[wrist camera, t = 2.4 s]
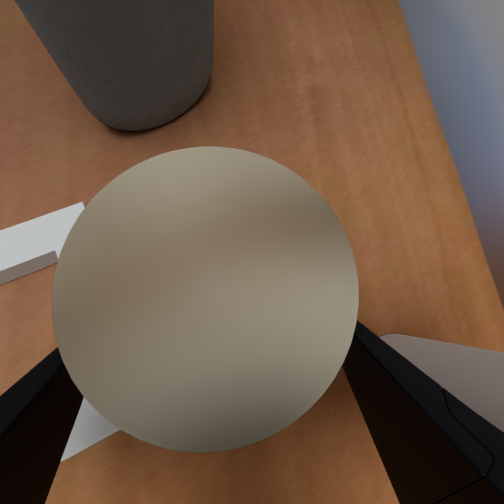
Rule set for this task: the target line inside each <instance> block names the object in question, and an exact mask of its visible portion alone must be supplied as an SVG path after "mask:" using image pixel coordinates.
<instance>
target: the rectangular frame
mask: <svg viewBox="0 0 504 504" xmlns="http://www.w3.org/2000/svg"><path fill="white" fill-rule="evenodd" d="M86 206H87V205H86V204H85V203H83V202H81V203H78V204H75V205H72V206H69V207H66V208H63V209H61V210H58V211H55V212H52V213H49V214H46V215H43V216H41V217H38V218H35V219H32V220H29V221H26V222H23V223H21V224H18V225H15V226H12V227H9V228H6V229H4V230H1V231H0V285H1V284H4V283H6V282H9V281H11V280H14V279H16V278H19V277H22V276H24V275H27V274H29V273H32V272H34V271H37V270H40V269H42V268H45V267H47V266H50V265H52V264H55V263H57V262H58V259H59V255H60V252H61V250H62V247H63V245H64V243H65V240H66V238H67V236H68V233H69V232H70V230H71V228H72V227H73V225H74V223H75V222H76V220H77V218H78V216H79V215H80V214H81V212H82V211H83V210H84V209H85V207H86ZM119 430H120V429H119V428H117V427H116V426H115V425H113V424H112V423H111V422H109V421H108V420H107V419H105V418H104V417H103V416H101V415H100V414H99V413H98V412H97V410H96V409H95V408H94V407H93V406H92V405H91V404H90V403H89V402H88V401H87V400H86V399H85V398H83V401H82V404H81V407H80V410H79V413H78V415H77V418H76V421H75V424H74V426H73V429H72V432H71V434H70V437H69V440H68V442H67V445H66V448H65V450H64V453H63V456H62V459H61V461H60V462H62V461H64V460H66V459H68V458H69V457H71V456H73V455H75V454H77V453H79V452H80V451H82V450H84V449H86V448H88V447H90V446H91V445H93V444H95V443H97V442H99V441H100V440H102V439H104V438H106V437H108V436H110V435H111V434H113V433H115V432H117V431H119Z"/></svg>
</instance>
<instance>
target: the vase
mask: <svg viewBox="0 0 504 504" xmlns="http://www.w3.org/2000/svg"><path fill="white" fill-rule="evenodd" d="M15 2H16V3H17V5H18V6H19V8H20V9H21V11H22V12H23V14H24V15H25V17H26V19H27V20H28V22H29V23H30V25H31V26H32V28H33V29H34V31H35V32H36V34H37V35H38V37H39V38H40V40H41V41H42V43H43V44H44V46H45V47H46V49H47V50H48V52H49V53H50V55H51V56H52V58H53V60H54V61H55V63H56V64H57V66H58V67H59V69H60V70H61V71H62V73H63V74H64V76H65V77H66V79H67V80H68V82H69V83H70V85H71V86H72V88H73V89H74V91H75V92H76V94H77V95H78V96H79V98H80V99H81V101H82V102H83V104H84V105H85V106H86V108H87V109H88V110H89V111H90V112H91V113H92V114H93V115H94V116H95V117H96V118H97V119H98V120H100V121H101V122H103V123H104V124H106V125H108V126H110V127H113V128H117V129H121V130H129V131H137V130H145V129H150V128H154V127H157V126H160V125H163V124H165V123H167V122H169V121H171V120H173V119H175V118H176V117H178V116H179V115H181V114H182V113H184V112H185V111H186V110H187V109H188V108H190V107H191V106H192V105H193V104H194V103H195V102H196V101H197V99H198V98H199V97H200V95H201V94H202V92H203V91H204V89H205V87H206V85H207V83H208V80H209V77H210V74H211V70H212V63H213V21H214V0H15Z"/></svg>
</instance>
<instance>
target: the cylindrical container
mask: <svg viewBox="0 0 504 504" xmlns="http://www.w3.org/2000/svg"><path fill="white" fill-rule="evenodd" d="M379 338H381V339H382V340H383V341H384V342H386V343H387V344H388V345H390V346H391V347H392V348H393V349H395V350H396V351H397V352H398V353H400V354H401V355H402V356H404V357H405V358H406V359H407V360H409V361H410V362H411V363H413V364H414V365H415V366H416V367H418V368H419V369H420V370H421V371H423V372H424V373H425V374H427V375H428V376H429V377H430V378H432V379H433V380H434V381H436V382H437V383H438V384H439V385H441V388H442V387H443V388H445V389H446V390H447V391H448V392H450V393H451V394H452V395H454V396H455V397H456V398H457V399H459V400H460V401H461V402H463V403H464V404H465V405H467V406H468V407H469V408H471V409H472V410H473V411H475V412H476V413H477V414H479V415H480V416H482V417H483V418H484V419H486V420H487V421H489V422H490V423H491V424H493V425H494V426H496V427H497V428H498V429H500V430H501V431H503V432H504V352H498V351H493V350H487V349H481V348H476V347H470V346H465V345H459V344H453V343H448V342H442V341H436V340H431V339H425V338H419V337H414V336H408V335H402V334H387V335H384V336H381V337H379Z"/></svg>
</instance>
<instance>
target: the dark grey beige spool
mask: <svg viewBox="0 0 504 504" xmlns="http://www.w3.org/2000/svg"><path fill="white" fill-rule="evenodd" d="M358 305H359V286H358V277H357V269H356V265H355V260H354V256H353V252H352V249H351V246H350V244H349V241H348V238H347V236H346V233H345V231H344V229H343V228H342V226H341V224H340V222H339V220H338V218H337V217H336V215H335V214H334V212H333V211H332V209H331V208H330V206H329V205H328V204H327V202H326V201H325V200H324V199H323V198H322V197H321V195H320V194H319V193H318V192H317V191H316V190H315V189H314V188H313V187H312V186H311V185H309V184H308V183H307V182H306V181H305V180H304V179H303V178H301V177H300V176H298V175H297V174H296V173H294V172H293V171H291V170H290V169H288V168H286V167H285V166H283V165H281V164H279V163H277V162H276V161H273V160H271V159H269V158H266V157H264V156H261V155H259V154H255V153H252V152H248V151H245V150H240V149H234V148H228V147H212V146H205V147H191V148H185V149H179V150H174V151H170V152H167V153H164V154H160V155H157V156H154V157H152V158H150V159H147V160H145V161H143V162H141V163H138V164H136V165H135V166H133V167H131V168H130V169H128V170H126V171H125V172H123V173H121V174H120V175H119V176H117V177H116V178H115V179H114V180H112V181H111V182H110V183H108V184H107V185H106V186H105V187H104V188H103V189H102V190H101V191H100V192H99V193H98V194H97V195H96V196H95V197H94V198H93V199H92V200H91V201H90V202H89V203H88V205H87V206H86V207H85V209H84V210H83V211H82V212H81V214H80V215H79V216H78V218H77V220H76V222H75V223H74V225H73V227H72V228H71V230H70V232H69V233H68V236H67V238H66V240H65V243H64V245H63V247H62V250H61V252H60V255H59V259H58V263H57V266H56V270H55V274H54V282H53V289H52V319H53V326H54V332H55V338H56V342H57V345H58V348H59V351H60V354H61V357H62V360H63V362H64V364H65V366H66V369H67V371H68V373H69V375H70V377H71V379H72V381H73V382H74V383H75V385H76V386H77V388H78V389H79V391H80V392H81V393H82V395H83V396H84V398H85V399H86V400H87V401H88V402H89V403H90V404H91V405H92V406H93V407H94V408H95V409H96V410H97V412H98V413H99V414H100V415H101V416H103V417H104V418H105V419H107V420H108V421H109V422H111V423H112V424H113V425H115V426H116V427H117V428H119V429H120V430H122V431H124V432H126V433H127V434H129V435H131V436H133V437H135V438H137V439H139V440H141V441H144V442H147V443H149V444H152V445H155V446H158V447H161V448H166V449H171V450H176V451H181V452H199V453H209V452H218V451H227V450H232V449H236V448H240V447H244V446H247V445H251V444H254V443H256V442H258V441H261V440H263V439H265V438H268V437H270V436H272V435H274V434H276V433H277V432H279V431H281V430H282V429H284V428H286V427H287V426H289V425H291V424H292V423H293V422H294V421H296V420H297V419H298V418H299V417H301V416H302V415H303V414H304V413H306V412H307V411H308V410H309V409H310V408H311V407H312V406H313V405H314V404H315V403H316V402H317V401H318V400H319V398H320V397H321V396H322V395H323V394H324V392H325V391H326V390H327V388H328V387H329V386H330V384H331V383H332V382H333V380H334V379H335V377H336V375H337V373H338V371H339V370H340V368H341V366H342V364H343V362H344V360H345V358H346V355H347V353H348V350H349V347H350V345H351V342H352V338H353V334H354V330H355V326H356V321H357V313H358Z"/></svg>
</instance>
